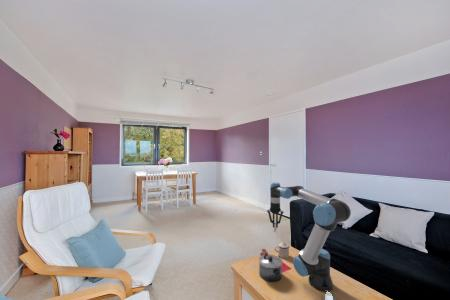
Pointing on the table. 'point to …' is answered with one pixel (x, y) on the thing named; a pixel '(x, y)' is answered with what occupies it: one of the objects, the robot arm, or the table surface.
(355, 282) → the table surface
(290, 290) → the table surface
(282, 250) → the teacup with lid
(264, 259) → the lid
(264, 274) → the cooker pot
